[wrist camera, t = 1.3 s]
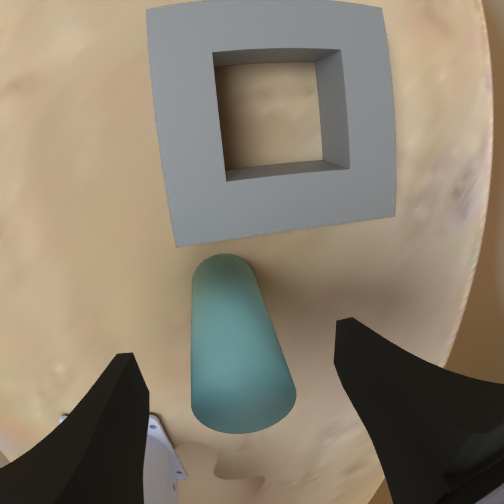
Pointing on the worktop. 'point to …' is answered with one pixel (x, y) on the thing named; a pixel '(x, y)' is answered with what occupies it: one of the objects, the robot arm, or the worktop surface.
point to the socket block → (330, 104)
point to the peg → (235, 351)
